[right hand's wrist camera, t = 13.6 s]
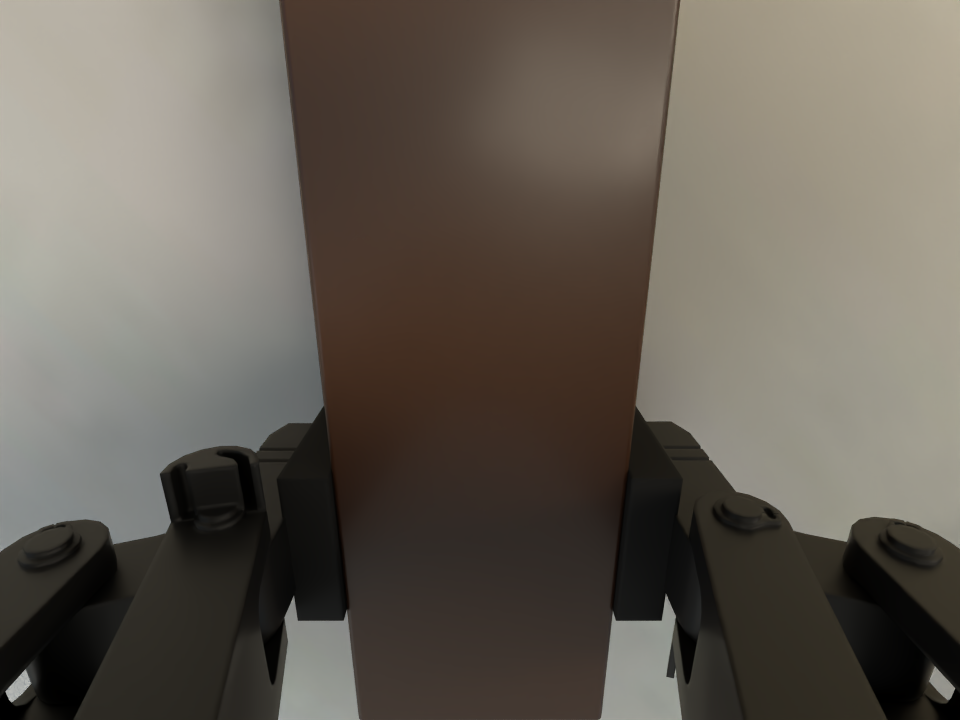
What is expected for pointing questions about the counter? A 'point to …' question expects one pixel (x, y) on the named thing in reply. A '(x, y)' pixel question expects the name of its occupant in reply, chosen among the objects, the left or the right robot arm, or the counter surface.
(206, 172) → the counter surface
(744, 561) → the right robot arm
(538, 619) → the rail
